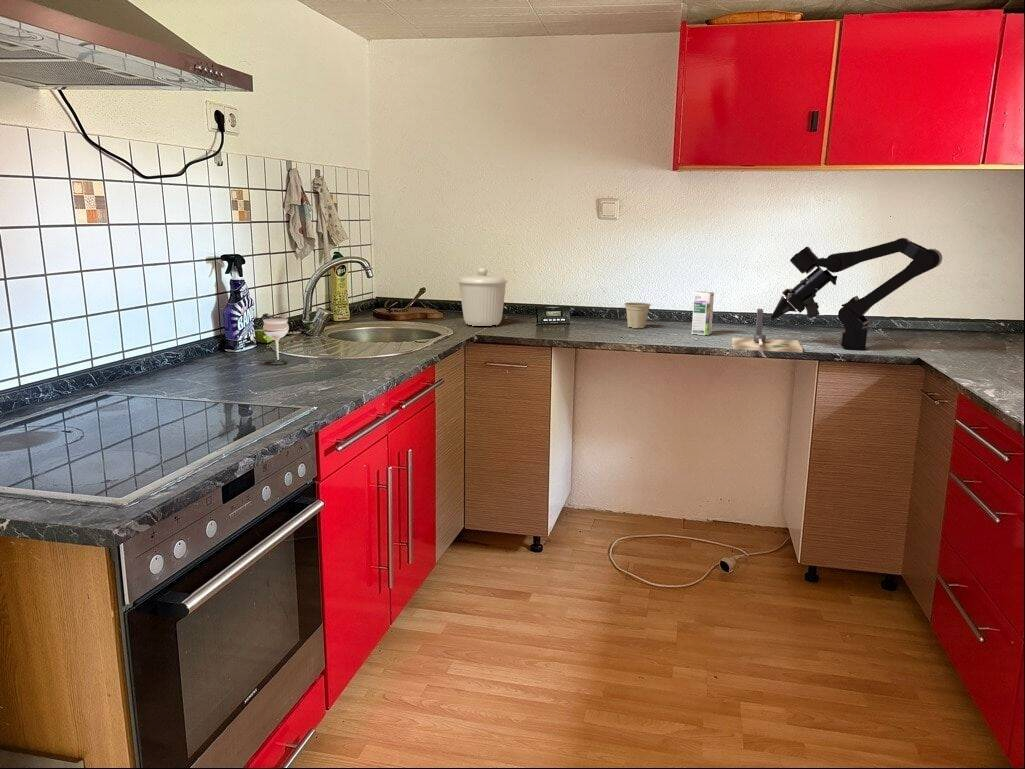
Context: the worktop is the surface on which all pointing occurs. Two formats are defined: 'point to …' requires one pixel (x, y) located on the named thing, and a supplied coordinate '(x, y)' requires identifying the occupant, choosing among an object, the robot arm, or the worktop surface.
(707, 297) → the syrup box
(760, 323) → the peg
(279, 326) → the wineglass
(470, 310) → the canister
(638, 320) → the flower pot
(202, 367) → the worktop surface
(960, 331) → the worktop surface
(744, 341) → the board
